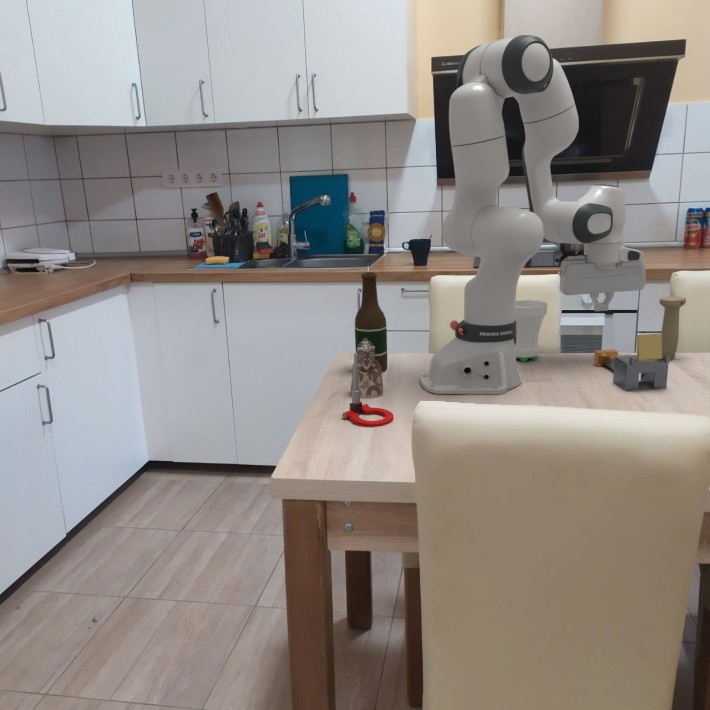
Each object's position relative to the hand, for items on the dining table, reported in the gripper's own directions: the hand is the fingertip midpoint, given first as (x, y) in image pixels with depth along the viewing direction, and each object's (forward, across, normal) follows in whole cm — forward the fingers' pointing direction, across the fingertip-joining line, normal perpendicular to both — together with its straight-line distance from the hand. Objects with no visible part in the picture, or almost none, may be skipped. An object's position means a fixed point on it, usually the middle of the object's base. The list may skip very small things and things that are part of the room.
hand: (600, 310), depth 164 cm
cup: (+12, -18, +5) cm, 22 cm away
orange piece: (+12, -1, -10) cm, 16 cm away
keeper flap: (+3, 0, -25) cm, 25 cm away
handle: (+13, +16, -3) cm, 21 cm away
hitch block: (+12, -1, -22) cm, 25 cm away
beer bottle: (+12, -57, +2) cm, 58 cm away
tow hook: (+11, -61, -32) cm, 69 cm away
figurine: (+11, -60, -16) cm, 63 cm away
